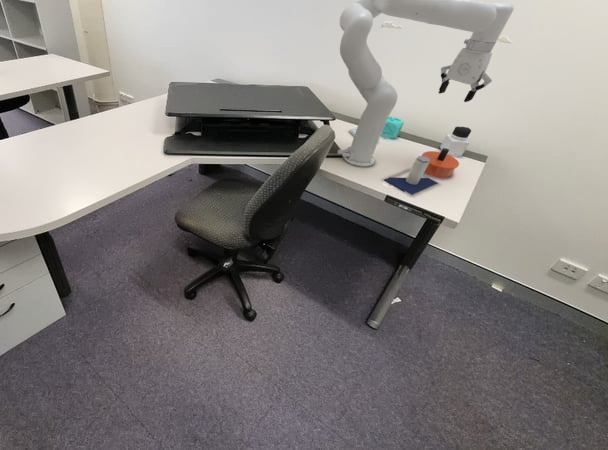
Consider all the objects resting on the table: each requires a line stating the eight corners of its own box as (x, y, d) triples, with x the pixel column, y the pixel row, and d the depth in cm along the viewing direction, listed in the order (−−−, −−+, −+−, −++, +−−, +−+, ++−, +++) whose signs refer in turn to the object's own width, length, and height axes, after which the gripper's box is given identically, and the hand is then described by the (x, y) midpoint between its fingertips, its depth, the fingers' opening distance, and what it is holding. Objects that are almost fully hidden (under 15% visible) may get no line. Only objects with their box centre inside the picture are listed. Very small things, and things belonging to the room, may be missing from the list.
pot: (426, 178, 132) (432, 168, 129) (412, 162, 141) (417, 152, 138) (456, 179, 132) (463, 168, 129) (440, 163, 141) (446, 153, 138)
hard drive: (350, 128, 162) (362, 140, 153) (365, 128, 163) (378, 139, 154) (349, 131, 163) (361, 143, 154) (364, 131, 164) (377, 142, 155)
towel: (411, 195, 122) (411, 195, 122) (384, 180, 130) (384, 179, 130) (437, 183, 129) (438, 183, 129) (410, 169, 137) (410, 168, 136)
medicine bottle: (461, 157, 146) (476, 132, 138) (444, 155, 147) (458, 130, 139) (455, 149, 151) (469, 125, 143) (438, 148, 152) (452, 123, 144)
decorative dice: (393, 141, 156) (400, 125, 151) (376, 135, 160) (383, 120, 155) (398, 135, 161) (405, 119, 156) (381, 130, 165) (388, 115, 160)
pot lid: (431, 170, 129) (438, 157, 125) (415, 153, 139) (420, 141, 135) (464, 170, 129) (472, 158, 125) (446, 153, 139) (452, 141, 135)
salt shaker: (408, 184, 127) (420, 161, 121) (403, 178, 131) (414, 155, 124) (420, 184, 127) (433, 161, 121) (414, 178, 131) (426, 155, 124)
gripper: (448, 41, 115) (426, 91, 127) (501, 53, 104) (471, 106, 115) (460, 39, 118) (437, 88, 129) (513, 51, 107) (483, 103, 118)
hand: (453, 97), depth 122 cm, fingers open, 9 cm apart
